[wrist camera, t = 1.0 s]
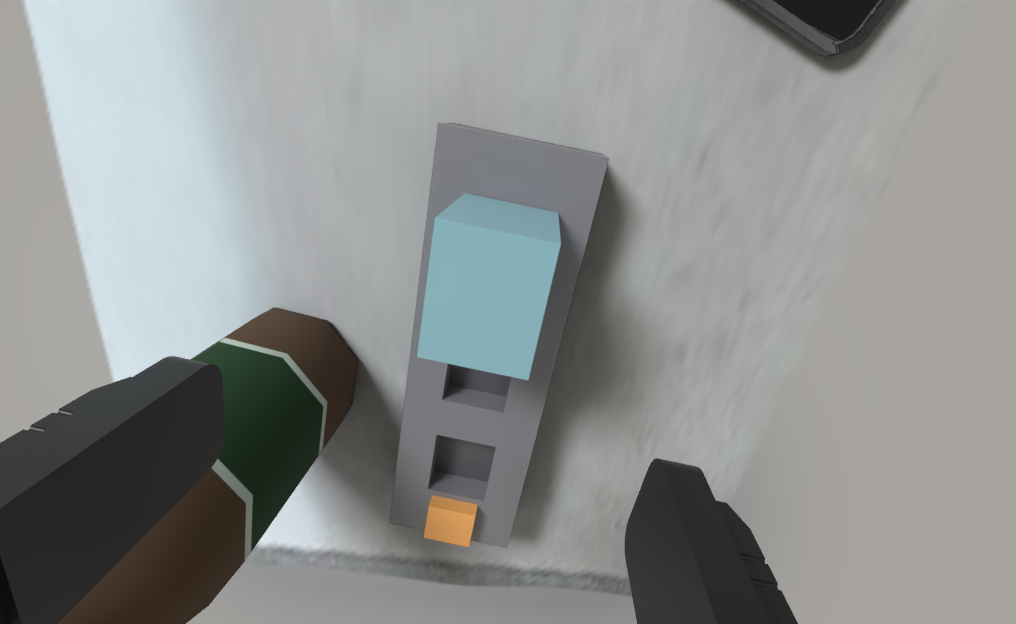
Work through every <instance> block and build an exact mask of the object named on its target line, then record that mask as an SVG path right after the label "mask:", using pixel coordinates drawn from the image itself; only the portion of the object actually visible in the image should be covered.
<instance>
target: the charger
mask: <svg viewBox="0 0 1016 624" xmlns="http://www.w3.org/2000/svg"><path fill="white" fill-rule="evenodd" d="M560 246H561V239H560V227H559V216H558V212H553V211H549V210H544V209H539V208H534V207H529V206H524V205H520V204H515V203H510V202H505V201H500V200H496V199H491V198H486V197H481V196H476V195H471V194H467V193H465V194H463V195H462V196H461V197H460V198H458V199H457V200H456V201H455V202H454V203H452V204H451V205H450V206H449V207H447V208H446V209H445V210H444V211H443V212H441V213H440V214H439V215H438V216H437V217H435V221H434V229H433V237H432V245H431V253H430V260H429V268H428V276H427V284H426V291H425V299H424V307H423V315H422V323H421V330H420V338H419V346H418V354H417V357H419V358H424V359H428V360H433V361H438V362H443V363H447V364H452V365H457V366H462V367H467V368H471V369H476V370H481V371H486V372H490V373H495V374H500V375H505V376H509V377H514V378H519V379H524V380H528V379H529V375H530V371H531V367H532V363H533V358H534V354H535V350H536V346H537V342H538V338H539V333H540V329H541V325H542V321H543V317H544V313H545V308H546V304H547V300H548V296H549V292H550V287H551V283H552V279H553V275H554V271H555V267H556V262H557V258H558V254H559V250H560Z"/></svg>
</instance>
